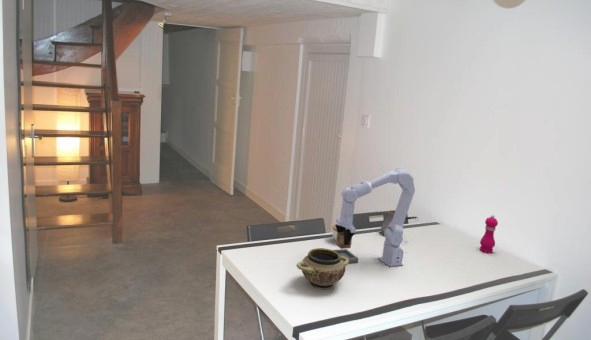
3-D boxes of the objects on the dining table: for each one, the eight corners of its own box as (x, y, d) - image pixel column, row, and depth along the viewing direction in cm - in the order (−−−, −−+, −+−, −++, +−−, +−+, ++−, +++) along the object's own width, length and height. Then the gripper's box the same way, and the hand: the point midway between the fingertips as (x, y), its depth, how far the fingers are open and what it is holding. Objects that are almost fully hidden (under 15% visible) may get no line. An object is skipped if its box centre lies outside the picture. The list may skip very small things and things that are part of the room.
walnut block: (350, 248, 209) (352, 235, 208) (341, 248, 207) (342, 236, 206) (345, 243, 214) (346, 231, 212) (335, 244, 212) (337, 232, 210)
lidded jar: (352, 246, 229) (355, 228, 227) (331, 244, 229) (333, 226, 227) (350, 238, 239) (352, 221, 237) (330, 236, 239) (332, 219, 237)
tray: (357, 262, 209) (358, 258, 209) (336, 264, 205) (337, 260, 204) (345, 253, 219) (346, 248, 218) (325, 255, 214) (326, 250, 214)
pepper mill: (490, 249, 244) (497, 213, 239) (495, 254, 237) (502, 217, 232) (477, 247, 244) (483, 212, 240) (481, 252, 237) (488, 216, 233)
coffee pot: (375, 232, 253) (379, 206, 249) (389, 229, 260) (392, 204, 257) (406, 246, 237) (410, 218, 233) (420, 242, 244) (424, 215, 241)
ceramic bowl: (337, 279, 197) (335, 244, 197) (362, 287, 181) (360, 249, 181) (286, 287, 185) (285, 250, 185) (308, 297, 169) (307, 256, 169)
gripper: (331, 209, 212) (328, 237, 215) (347, 219, 199) (343, 248, 202) (345, 209, 215) (341, 236, 218) (361, 219, 202) (357, 247, 205)
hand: (343, 242), depth 210 cm, fingers closed on walnut block, 5 cm apart
